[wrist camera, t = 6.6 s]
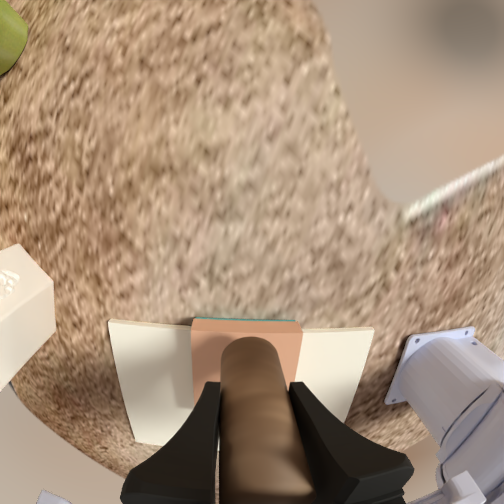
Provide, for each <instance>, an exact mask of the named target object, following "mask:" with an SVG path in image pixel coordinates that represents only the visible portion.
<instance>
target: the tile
mask: <svg viewBox="0 0 504 504" xmlns="http://www.w3.org/2000/svg"><path fill="white" fill-rule="evenodd" d="M250 336H252V337H260V338H263V339H265V340H267V341H269V342H270V343H271V344H272V345H273V346H274V347H275V348H276V350H277V353H278V356H279V360H280V363H281V367H282V371H283V374H284V378H285V382H286V385H287V389H288V390H289V385H290V382H295V377H296V371H297V366H298V361H299V355H300V349H301V344H302V338H303V331H302V329H301V327H300V325H299V323H298V321H295V320H250V319H222V318H201V317H196V318H195V319H194V318H193V323H192V327H191V354H192V375H193V392H194V407H195V405H196V403H197V401H198V400H199V397H200V395H201V393H202V391H203V388H204V385H205V383H206V382H207V381H212V382H220V373H221V356H222V353H223V351H224V349H225V348H226V347H227V345H229V344H230V343H231V342H233V341H234V340H236V339H239V338H242V337H250Z"/></svg>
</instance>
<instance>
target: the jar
mask: <svg viewBox="0 0 504 504" xmlns="http://www.w3.org/2000/svg"><path fill="white" fill-rule="evenodd" d="M55 332H56V320H55V306H54V282H53V280H52V279H51V278H50V277H49V276H48V275H47V274H46V273H45V272H44V271H43V270H42V268H41V267H40V266H39V265H38V264H37V263H36V262H35V261H34V260H33V259H32V257H31V256H30V255H29V254H28V253H27V252H26V251H25V249H24V248H23V247H22V246H21V245H20V244H15V245H12V246H10V247H7V248H5V249H3V250H0V392H1V391H2V390H3V388H4V387H5V386H6V385H7V384H8V383H9V382H10V380H11V379H12V378H13V377H14V376H15V375H16V373H17V372H18V371H19V370H20V369H21V368H22V367H23V366H24V365H25V363H26V362H27V361H28V360H29V359H30V358H31V357H32V356H33V355H34V354H35V353H36V351H37V350H38V349H39V348H40V347H41V346H42V345H43V344H44V343H45V342H46V341H47V340H48V339H49V338H50V337H51V336H52V335H53V334H54V333H55Z"/></svg>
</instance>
